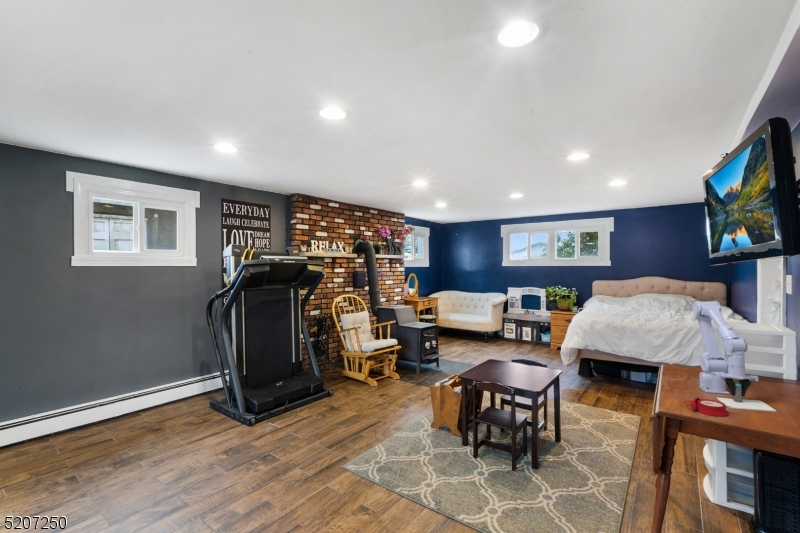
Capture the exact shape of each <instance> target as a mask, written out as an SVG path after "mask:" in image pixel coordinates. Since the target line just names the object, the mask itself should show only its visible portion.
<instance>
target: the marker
mask: <svg viewBox="0 0 800 533" xmlns="http://www.w3.org/2000/svg"><path fill="white" fill-rule="evenodd" d="M734 382H735V388H734V390H735V396H732V397H733V398H732V399H733V401H736V402H742V399H743V396H742V384H741V383H739V381H738V382H737V381H734Z"/></svg>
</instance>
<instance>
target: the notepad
mask: <svg viewBox="0 0 800 533" xmlns="http://www.w3.org/2000/svg"><path fill="white" fill-rule="evenodd" d="M716 399H717V401H719V402H722V403H724V404H725V405H726V406H731V407H727V408H728V409H737V410H750V411H751V410H752V411H761V412H763V411H764V412H773V413H774V412H775V413H777V410H776V409H774V408H773V407H772V406H770V405H768V404H767V403H765V402H764V401H761V400H758V399H744V398H742V402H736V401H733V398H731V397H730V398H728V397H716Z"/></svg>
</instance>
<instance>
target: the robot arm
mask: <svg viewBox="0 0 800 533" xmlns="http://www.w3.org/2000/svg"><path fill="white" fill-rule="evenodd" d="M692 313H693V315H694V316H693V317H694V318H695V319H696V320H697V323H698V326H699V330H700V336H701V338H702V343H703V347H704V351H705V352H704V353H703V354H702V355H701V356H700V367H701V369H702V371H703V372H702V371H700V372H699V375H698V376H699V389H701V390H702V391H703V392H705V393H709V394H710V393H714V394H727V395H729V394H730V395H731V396H732V397H733V396H735V390H734V388H735V382H736V381H734V380H737V381H738V383H741V384H742V398H743V397H745V396H746V393H747V390H748V388H749V387H750V386H751V385H752V382H753V381H755V382H759V376H758V375H752V374H746V363H745V362H746V361H745V359H746V358H745V352H747V350H748V348H749V347H748V343H747V340H746V339H744V338H742V336H739V335H738V333H737V332H736V331H735V329H734V328H733V327H732V326H731V325H728V323H727V322H726V320H725V317H724V316H723V314H722V306H721V303H720V302H719V301H717V300H713V301H712V300H711V301H710V300H709V301H698V300H697V301H696V300H695V301H694V303H693V304H692ZM712 321H713V322H714V324H715V325H716V326H717V332H718V334H719V335H720V338H721V339H722V341H723V342H724V343H723V347H724V350H725V353H726V355H727V356H726V355H724V354H722V353H720V352H719V349H718V348H719V347H718V344H717V340H716V334H715V333H714V332H715V331H714V328H713V324H712ZM751 381H752V382H751ZM726 386H727V388H728V390H729V391H728V390H727V389H726Z"/></svg>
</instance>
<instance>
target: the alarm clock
mask: <svg viewBox="0 0 800 533" xmlns="http://www.w3.org/2000/svg"><path fill="white" fill-rule="evenodd" d="M687 402H690V403H689V404H688V403H687ZM684 404H685V405H687V406H690V409H691V410H692V411H693V412H699V413H700V414H703V415H707V416H712V417H713V416H714V417H727V416H729V413H728V412H729V410H727V408H728V407H731V406H726V405H725V404H724V403H722V402H721V401H719V400H716V399H709V398H708V399H707V398H702V399H701V398H699V397H695V398H693V400H686V401H684Z"/></svg>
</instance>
